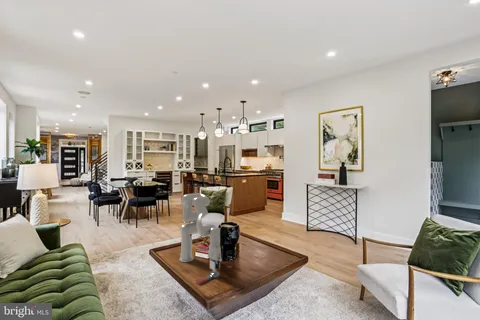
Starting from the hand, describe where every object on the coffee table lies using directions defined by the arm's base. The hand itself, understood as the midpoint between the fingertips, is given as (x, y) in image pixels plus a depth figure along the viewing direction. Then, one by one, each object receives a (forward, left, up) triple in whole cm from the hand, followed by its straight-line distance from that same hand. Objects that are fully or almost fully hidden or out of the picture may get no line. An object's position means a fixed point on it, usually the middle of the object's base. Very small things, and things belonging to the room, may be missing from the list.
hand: (214, 267), depth 190 cm
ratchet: (0, -6, -7) cm, 10 cm away
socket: (0, 0, -1) cm, 1 cm away
